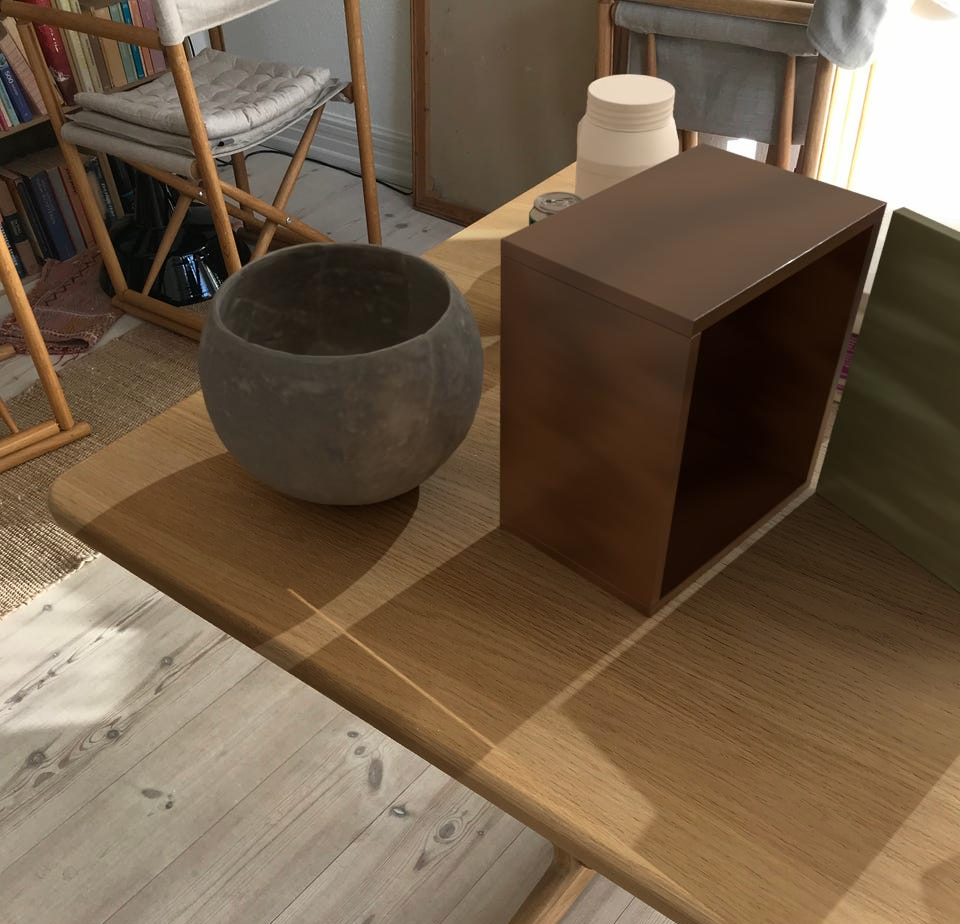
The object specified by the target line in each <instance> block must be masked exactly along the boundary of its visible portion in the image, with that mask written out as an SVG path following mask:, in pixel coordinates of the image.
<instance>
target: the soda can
mask: <svg viewBox="0 0 960 924" xmlns="http://www.w3.org/2000/svg"><path fill="white" fill-rule="evenodd" d="M581 200H583V199H582V198H581V197H580V196H578V195H576V194H575V193H572V192H569V191H568V192H567V191H549V192H545V193H542V194H540V195H538V196H536V197H535V198H534V200H533V206H532V207H531V209H530V210H529V212H528V226H529V225H531V224H533V223H535V222H537V221H539V220H542V219H544V218H546V217H548V216H550V215H552V214H554V213H556V212H558V211H560V210H563V209H565V208H567V207H569V206H571V205H573V204H575V203H577V202H579V201H581Z"/></svg>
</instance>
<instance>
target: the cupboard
mask: <svg viewBox="0 0 960 924" xmlns="http://www.w3.org/2000/svg"><path fill="white" fill-rule="evenodd" d="M887 207H888V202H887V201H884V200H881V199H877V198H874V197H871V196H869V195H866V194H862V193H859V192H857V191H852V190H849V189H846V188H844V187H841V186H837V185H835V184H831V183H828V182H826V181H822V180H818V179H815V178H813V177H810V176H806V175H803V174H800V173H798V172H794V171H791V170H789V169H785V168H781V167H778V166H775V165H772V164H769V163H766V162H763V161H760V160H757V159H753V158H751V157H748V156H744V155H741V154H738V153H735V152H732V151H728V150H726V149H724V148H719V147H717V146H713V145H711V144H708V143H704V142H702V143H699V144H697V145H695V146H693V147H691V148H689V149H687V150H685V151H683V152H679V154H678V155H676V156H674V157H672V158H670V159H668V160H665V161H663V162H661V163H659V164H657V165H655V166H653V167H651V168H649V169H647V170H644V171H642V172H640V173H638V174H636V175H634V176H632V177H630V178H628V179H626V180H623V181H621V182H619V183H617V184H615V185H613V186H611V187H609V188H607V189H605V190H602V191H600V192H598V193H596V194H594V195H592V196H590V197H588V198H586V199H584V200H581V201H579V202H577V203H575V204H573V205H571V206H569V207H567V208H565V209H563V210H560V211H558V212H556V213H554V214H552V215H550V216H548V217H546V218H544V219H542V220H539V221H537V222H535V223H533V224H531V225H529V224H528V225H527V226H525V227H523V228H521V229H519V230H516V231H514V232H512V233H510V234H507V235H506V236H504V237H502V238H500V290H499V291H500V293H499V294H500V298H499V299H500V300H499V301H500V306H499V307H500V308H499V309H500V310H499V311H500V313H499V314H500V315H499V319H500V320H499V321H500V323H499V328H500V329H499V334H500V335H499V343H500V344H499V360H500V361H499V367H500V368H499V527H501V529H504V530H505V531H507V532H508V533H510V534H512V535H513V536H515V537H517V538H518V539H520V540H522V541H523V542H524V543H526V544H528V545H530V546H532V547H533V548H534V549H536V550H537V551H539V552H541V553H542V554H544V555H546V556H547V557H549V558H551V560H554V561H555V562H557V563H558V564H560V565H561V566H564V567H565V568H566V569H568V570H569V571H572V572H573V573H574V574H577V575H578V576H580V577H581V578H583V579H585V580H586V581H588V582H589V583H591V584H593V585H594V586H596V587H597V588H599V589H601V590H602V591H604V592H606V593H607V594H609V595H611V596H612V597H614V598H615V599H617V600H619V601H620V602H621V603H623V604H625V605H627V606H629V607H630V608H632V610H635V611H636V612H638V613H639V614H641V615H643V616H645V617H646V618H651V617H652V616H653V615H655V614H656V613H657V612H658V611H660V610H661V609H662V608H664V606H665V605H667V604H668V603H669V602H671V601H672V600H673V599H674V598H675V597H677V596H678V595H679V594H680V593H682V592H683V591H684V590H685V589H687V588H688V587H689V586H690V585H691V584H692V583H694V582H695V581H696V580H697V579H699V578H700V577H701V576H702V575H703V574H705V573H706V572H707V571H709V570H710V569H711V568H712V567H713V566H714V565H716V564H717V563H718V562H720V561H721V560H722V559H723V558H725V556H727V555H728V554H730V552H732V551H733V550H734V549H736V548H737V547H738V546H739V545H740V544H741V543H743V542H744V541H745V540H746V539H748V538H749V537H751V535H752V534H754V533H755V532H756V531H757V530H759V529H760V528H761V527H762V526H764V525H765V524H766V523H767V522H768V521H769V520H771V519H772V518H774V517H775V516H776V515H777V514H778V513H780V512H781V511H782V510H783V509H784V508H785V507H787V506H788V505H789V504H791V503H792V502H793V501H794V500H795V499H797V498H798V497H799V496H800V495H801V494H803V493H804V492H805V491H806V490H808V489H809V488H810V486H811V483H812V480H813V477H814V473H815V470H816V465H817V462H818V459H819V455H820V451H821V448H822V444H823V440H824V436H825V432H826V429H827V425H828V422H829V418H830V415H831V412H832V411H831V410H832V407H833V404H834V396H835V393H836V389H837V385H838V382H839V378H840V374H841V371H842V367H843V363H844V360H845V356H846V352H847V349H848V345H849V341H850V338H851V334H852V330H853V327H854V323H855V319H856V316H857V312H858V308H859V305H860V301H861V297H862V294H863V290H864V286H865V283H866V279H867V275H868V273H870V272H869V271H870V268H871V264H872V260H873V257H874V252H875V249H876V245H877V242H878V238H879V235H880V231H881V227H882V224H883V220H884V217H885V213H886V209H887Z"/></svg>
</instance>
